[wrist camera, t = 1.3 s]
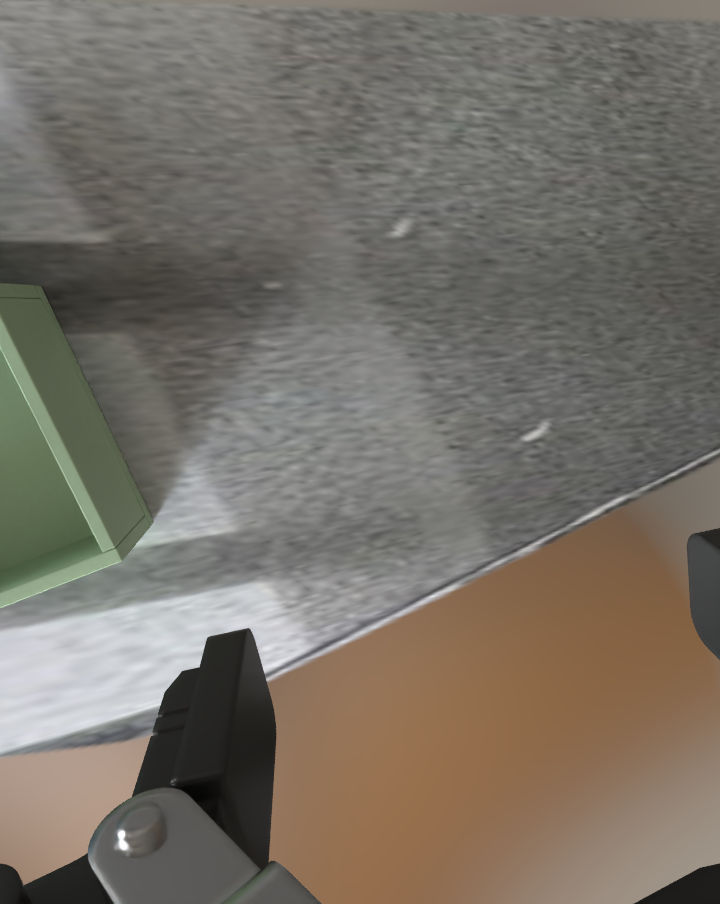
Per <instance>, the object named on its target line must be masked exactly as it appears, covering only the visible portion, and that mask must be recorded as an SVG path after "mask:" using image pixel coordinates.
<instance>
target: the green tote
mask: <svg viewBox="0 0 720 904" xmlns="http://www.w3.org/2000/svg"><path fill="white" fill-rule="evenodd" d="M153 523H154V521H153V519H152V517H151V515H150V513H149V511H148V508H147V506H146V504H145V502H144V500H143V498H142V496H141V494H140V492H139V490H138V488H137V485H136V483H135V481H134V479H133V477H132V475H131V473H130V471H129V469H128V467H127V465H126V463H125V460H124V458H123V456H122V454H121V452H120V450H119V448H118V446H117V444H116V442H115V440H114V437H113V435H112V433H111V431H110V429H109V427H108V425H107V423H106V421H105V419H104V417H103V415H102V412H101V410H100V408H99V406H98V404H97V402H96V400H95V398H94V396H93V394H92V392H91V389H90V387H89V385H88V383H87V381H86V379H85V377H84V375H83V373H82V371H81V369H80V367H79V364H78V362H77V360H76V358H75V356H74V354H73V352H72V350H71V348H70V346H69V344H68V341H67V339H66V337H65V335H64V333H63V331H62V329H61V327H60V325H59V323H58V321H57V319H56V316H55V314H54V312H53V310H52V308H51V306H50V304H49V302H48V300H47V298H46V296H45V293H44V291H43V289H42V287H41V286H37V285H24V284H8V283H0V608H2V607H5V606H7V605H10V604H12V603H15V602H18V601H20V600H23V599H25V598H28V597H31V596H33V595H36V594H38V593H41V592H43V591H46V590H49V589H51V588H54V587H56V586H59V585H61V584H64V583H67V582H69V581H72V580H74V579H77V578H79V577H82V576H85V575H87V574H90V573H92V572H95V571H98V570H100V569H103V568H105V567H108V566H110V565H113V564H116V563H118V562H121V561H122V560H123V559H124V558H125V557H126V556H127V554H128V553H129V552H130V551H131V550H132V548H133V547H134V546H135V545H136V543H137V542H138V541H139V540H140V539H141V537H142V536H143V535H144V534H145V533H146V531H147V530H148V529H149V528H150V526H151V525H152V524H153Z"/></svg>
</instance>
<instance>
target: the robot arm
mask: <svg viewBox="0 0 720 904" xmlns="http://www.w3.org/2000/svg"><path fill="white" fill-rule="evenodd" d="M687 556H688V573H689V590H690V607H691V615H692V619H693V623H694V626H695V628H696V631H697V633H698V635H699V637H700V638H701V640H702V641H703V643H704V644H705V645H706V646H707V647H708V649H709V650H710V651H711V652H712V653H714V654H715V655H716V656H717V658H719V660H720V528H719V529H714V530H709V531H705V532H700V533H695V534H692V535H691V536H690V537H689V539H688V543H687ZM158 715H159V718H157V719H156V722H155V725H154V728H153V736H151V738H150V741H149V744H148V747H147V751H146V754H145V757H144V760H143V763H142V767H141V770H140V773H139V776H138V779H137V782H136V785H135V789H134V792H133V795H132V798H130V799H128V800H126V801H125V802H123V803H122V804H120V805H119V806H118V807H116V808H115V809H114V810H113V811H111V812H110V814H108V815H107V816H106V817H105V818H104V820H103V821H102V822H101V823H100V824H99V826H98V827H97V829H96V830H95V832H94V834H93V836H92V838H91V840H90V844H89V847H88V853H87V854H86V855H84V856H82V857H81V858H79V859H77V860H75V861H73V862H72V863H70V864H68V865H65V866H64V867H61V868H59V869H57V870H55V871H53V872H51V873H49V874H47V875H45V876H42V877H40V878H38V879H36V880H34V881H32V882H30V883H28V884H26V885H23V883H22V880H21V878H20V876H19V874H18V872H17V871H16V870H15V869H14V868H13V867H11V866H8V865H6V864H0V904H321V903H320V902H319V901H318V900H317V899H316V898H315V897H314V896H313V895H312V894H311V893H310V892H309V891H308V890H307V889H306V888H305V887H304V886H303V885H302V884H301V883H300V882H299V881H298V880H297V879H296V878H295V877H294V876H293V875H292V874H291V873H290V872H289V871H288V870H287V869H286V868H284V867H283V866H282V865H281V864H279V863H278V862H276V861H271V862H269V861H268V860H269V846H270V845H269V844H270V829H271V814H272V797H273V781H274V764H275V748H276V722H275V715H274V709H273V704H272V700H271V696H270V692H269V689H268V686H267V682H266V678H265V675H264V671H263V667H262V664H261V660H260V657H259V653H258V650H257V646H256V643H255V639H254V636H253V634H252V632H251V630H250V629H249V628H247V629H242V630H238V631H233V632H228V633H224V634H219V635H214V636H210V637H208V638H207V641H206V644H205V648H204V652H203V656H202V660H201V664H200V667H199V668H195V669H190V670H185V671H182V672H181V673H180V675H179V676H178V677H177V678H176V679H175V681H174V682H173V683H172V684H171V685H170V687H169V688H168V689H167V690H166V691H165V694H164V697H163V700H162V703H161V706H160V709H159V713H158ZM268 862H269V863H268ZM635 904H720V864H715V865H711V866H707V867H702V868H699V869H697V870H695V871H693V872H692V873H690V874H688V875H686V876H684V877H682V878H681V879H679V880H677V881H675V882H673V883H671V884H669V885H668V886H666V887H664V888H662V889H660V890H658V891H657V892H655V893H653V894H651V895H649V896H647V897H646V898H644V899H642V900H640V901H638V902H636V903H635Z"/></svg>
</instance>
